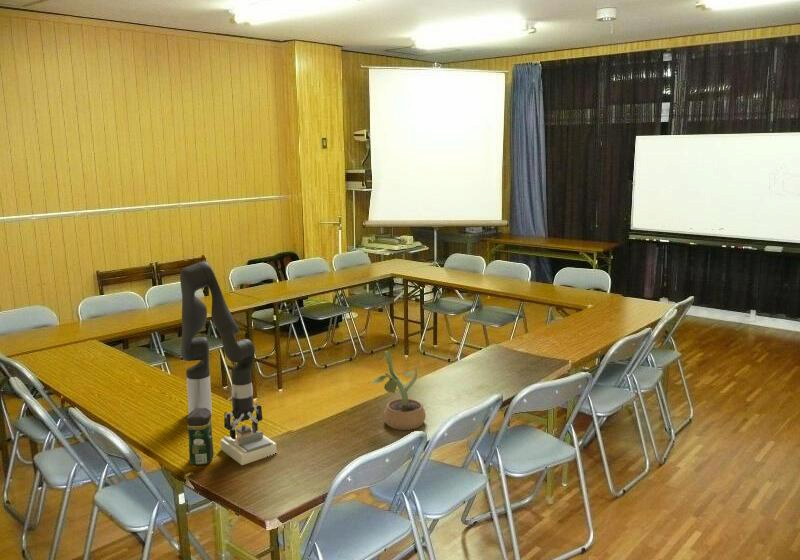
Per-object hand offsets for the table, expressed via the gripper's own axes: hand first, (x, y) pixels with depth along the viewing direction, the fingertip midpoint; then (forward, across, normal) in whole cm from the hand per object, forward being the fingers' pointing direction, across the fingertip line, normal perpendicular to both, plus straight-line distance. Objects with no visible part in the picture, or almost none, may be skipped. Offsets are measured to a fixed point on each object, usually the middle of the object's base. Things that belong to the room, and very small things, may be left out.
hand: (244, 435), depth 251 cm
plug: (+5, 0, 0) cm, 5 cm away
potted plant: (+6, +59, -18) cm, 62 cm away
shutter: (+1, 0, -8) cm, 8 cm away
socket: (+5, 0, -3) cm, 6 cm away
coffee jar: (+6, -16, +2) cm, 17 cm away
